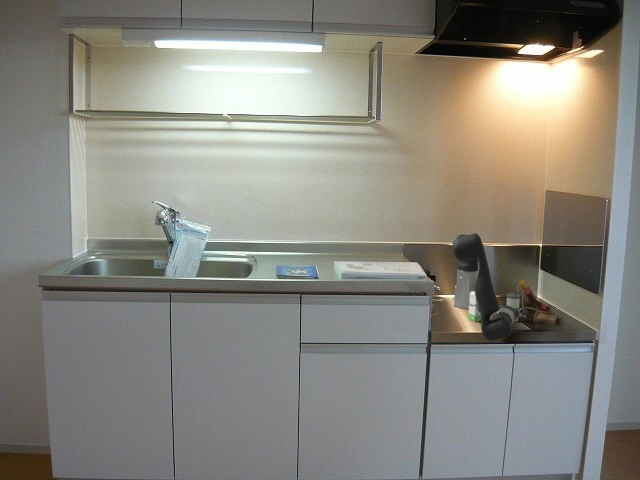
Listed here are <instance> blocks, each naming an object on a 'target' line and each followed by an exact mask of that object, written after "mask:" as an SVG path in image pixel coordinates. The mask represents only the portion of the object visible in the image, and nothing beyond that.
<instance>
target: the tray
mask: <svg viewBox="0 0 640 480" xmlns="http://www.w3.org/2000/svg"><path fill="white" fill-rule="evenodd" d="M538 310H539V309H537V311H536V310H535V314H534V316H533V317H532V323H533V324H534V323H535V324H542V325H548V326H549V325H550V326H556V323H557V320H558V316H559V315H558V314H559V313H558V312H551V311H548V312H545V311H538Z"/></svg>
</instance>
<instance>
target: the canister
mask: <svg viewBox="0 0 640 480" xmlns="http://www.w3.org/2000/svg"><path fill="white" fill-rule="evenodd" d="M520 295H521V294H520ZM520 295H519V293H513V292H511V293H507V294H506V306H510V307H512V308H519V309H520V299H521V296H520ZM515 311H516V310H515ZM518 321H519V317H516V319H515V321H514V323H516V322H518Z"/></svg>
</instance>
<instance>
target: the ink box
mask: <svg viewBox="0 0 640 480" xmlns="http://www.w3.org/2000/svg"><path fill="white" fill-rule="evenodd" d="M492 315H493V314H492ZM492 315H491V316H490V321H491V320H492V318H493V316H492ZM468 319H469V320H470V321H473V322H481V313H480V309H479V306H478V303H477V300H476V296H475V291H474V292H470V300H469V309H468Z"/></svg>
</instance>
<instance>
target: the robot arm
mask: <svg viewBox="0 0 640 480" xmlns="http://www.w3.org/2000/svg"><path fill="white" fill-rule="evenodd" d="M451 245H452V252H453V255H454V257H455V259H456V260H457V261H458V262H457V265H456V266H457V267H456V285H455V286H454V299H453V300H454V301H453V307H456V308H459V309H463V310H464V309H466V310H469V300H470V292H474V291H475V296H476V300H477V303H478V306H479V309H480V313H481V321H480V324H481V325H480V326H481V327H480V328H481V334H482V336H483V338H484V339H485V340H486V341H488V342H492V341H496V340H500V339H504V338H508V337H510V336H511V335H512V333H513V328H512V326H513V324H514V323H515V322H514V321H515V319H516V317H518V318H519V317H520V318H521V319H522V320H525V319H526V318H527V317H528V315H529V314H528V313H529V309H528V308H527V309H525V308H523V306H520V307H519V308H512V307H510V306H506V305H507V304H506V305H502V303H499V301H498V298H497V295H496V293H495V288H494V285H493V280H492V276H491V272H490V267H489V262H488V259H487V255H486V250H485V246H484V244H483V241H482V238H481V237H480V235H479V234H478V233H475V232H474V233H471V234H459V235H457V237H456V238H455V239H454V240H453V241H452V243H451ZM515 310H516V311H515ZM491 315H493V316H492V319H491V320H490V316H491Z"/></svg>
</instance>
